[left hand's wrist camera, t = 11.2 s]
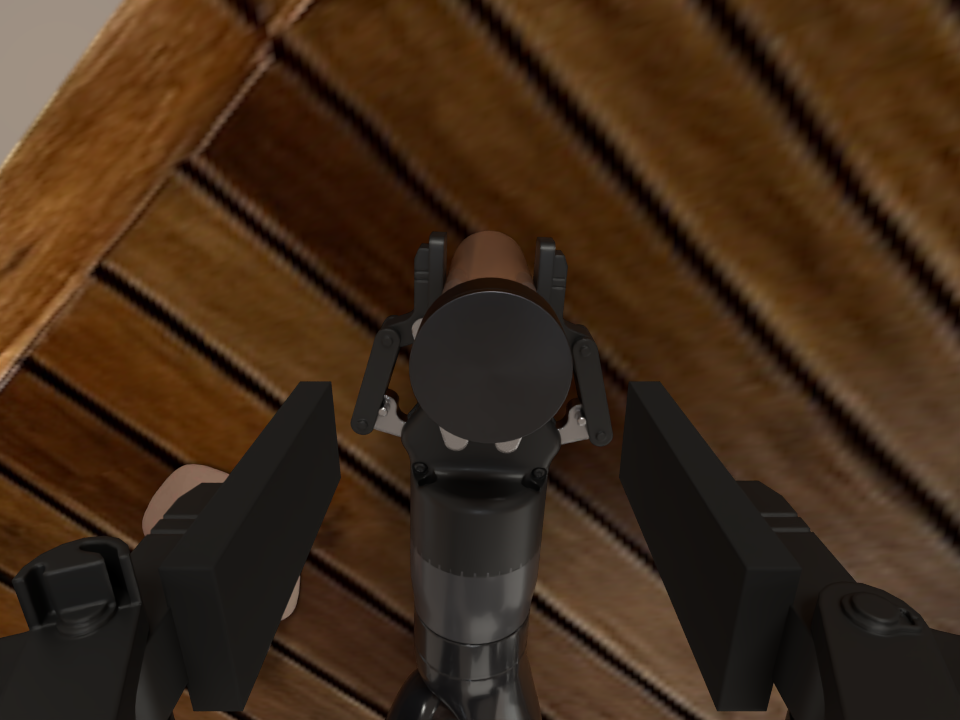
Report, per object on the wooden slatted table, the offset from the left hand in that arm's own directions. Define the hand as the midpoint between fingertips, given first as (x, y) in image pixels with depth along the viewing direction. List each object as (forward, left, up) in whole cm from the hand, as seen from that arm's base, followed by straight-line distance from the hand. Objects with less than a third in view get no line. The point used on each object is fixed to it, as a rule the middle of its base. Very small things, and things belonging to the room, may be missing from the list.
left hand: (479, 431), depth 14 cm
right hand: (+1, -2, -14) cm, 15 cm away
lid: (0, 0, -5) cm, 5 cm away
